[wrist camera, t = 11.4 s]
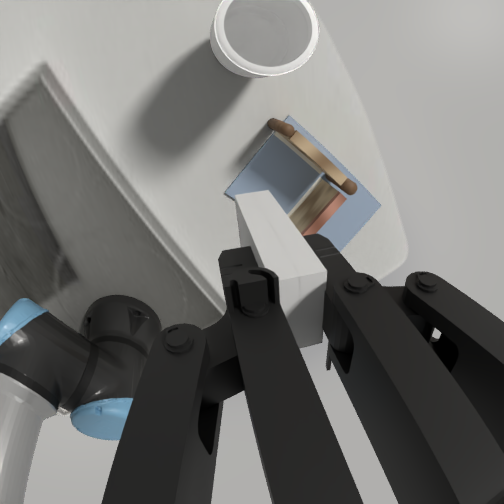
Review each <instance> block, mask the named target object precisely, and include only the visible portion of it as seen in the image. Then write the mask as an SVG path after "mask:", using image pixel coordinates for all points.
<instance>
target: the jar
mask: <svg viewBox="0 0 504 504" xmlns="http://www.w3.org/2000/svg"><path fill="white" fill-rule="evenodd" d="M318 40H319V22H318V18H317V15H316V13H315V10H314V9H313V7H312V5H311V4H310V2H309V1H308V0H223V1H222V2H221V4H220V5H219V7H218V9H217V12H216V15H215V17H214V19H213V22H212V25H211V29H210V44H211V48H212V51H213V53H214V55H215V57H216V58H217V60H218V61H219V62H220V63H221V64H222V65H223V66H224V67H225V68H226V69H228V70H229V71H231V72H233V73H235V74H237V75H240V76H244V77H250V78H263V77H268V76H275V75H282V74H286V73H289V72H291V71H294V70H296V69H297V68H299V67H300V66H302V65H303V64H304V63H305V62H307V61H308V59H309V58H310V57H311V56H312V54H313V53H314V51H315V49H316V47H317V44H318Z"/></svg>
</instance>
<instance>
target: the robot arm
mask: <svg viewBox="0 0 504 504" xmlns="http://www.w3.org/2000/svg"><path fill="white" fill-rule="evenodd" d="M235 204H236V212H237V220H238V228H239V236H240V244H241V248H235V249H230V250H224V251H222V253H221V255H220V257H219V259H218V261H219V267H220V273H221V278H222V284H223V290H224V295H225V300H226V305H227V310H226V312H225V314H224V316H223V317H222V318H221V319H220V320H219V321H218V322H217V323H215V324H213V325H212V326H210V327H208V328H205V329H203V330H201V329H200V328H198V327H197V326H195V325H191V324H185V323H184V324H176V325H173V326H170V327H168V328H165V329H164V330H163V331H162V332H161V323H160V320H159V318H158V316H157V315H156V313H155V312H154V311H153V310H152V309H151V308H150V307H149V306H148V305H146V304H145V303H143V302H142V301H140V300H137V299H135V298H132V297H128V296H123V295H111V296H106V297H103V298H100V299H98V300H97V301H95V302H94V303H93V304H92V305H91V306H90V308H89V309H88V312H87V314H86V318H85V322H84V331H85V337H84V336H82V335H81V334H79V333H78V332H76V331H75V330H73V329H72V328H70V327H69V326H67V325H66V324H65V323H63V322H62V321H60V320H59V319H57V318H56V317H55V316H53V315H52V314H51V313H49V311H48V310H47V309H43V308H42V307H40V306H39V305H37V304H36V303H34V302H33V301H32V300H30V299H27V298H22V299H19V300H18V301H17V302H16V303H15V304H14V305H13V306H12V307H11V308H10V309H9V310H8V312H7V313H6V314H5V316H4V317H3V318H2V320H1V321H0V504H23V502H24V496H25V490H26V485H27V480H28V476H29V471H30V467H31V463H32V458H33V454H34V450H35V447H36V443H37V439H38V436H39V432H40V428H41V425H42V422H43V420H44V419H46V418H49V417H51V416H54V415H56V413H57V410H58V407H59V406H60V407H62V408H64V409H66V410H68V411H69V412H71V415H70V418H71V422H72V425H73V426H74V427H76V429H77V430H78V431H80V432H81V433H83V434H85V435H87V436H90V437H94V438H97V439H103V440H120V441H119V444H118V447H117V451H116V454H115V458H114V461H113V464H112V468H111V471H110V475H109V478H108V482H107V485H106V489H105V492H104V497H103V500H102V504H211V498H212V490H213V481H214V473H215V466H216V457H217V449H218V441H219V434H220V426H221V417H222V410H223V400H226V399H227V398H230V397H232V396H234V395H236V394H238V393H240V392H242V391H245V396H246V399H247V404H248V408H249V413H250V417H251V421H252V425H253V429H254V434H255V438H256V442H257V446H258V450H259V454H260V458H261V462H262V466H263V470H264V474H265V478H266V482H267V486H268V489H269V493H270V497H271V500H272V504H363V502H362V499H361V497H360V494H359V492H358V489H357V487H356V484H355V482H354V480H353V477H352V475H351V472H350V470H349V468H348V465H347V462H346V460H345V458H344V456H343V453H342V450H341V448H340V446H339V443H338V441H337V438H336V436H335V434H334V431H333V429H332V426H331V424H330V421H329V419H328V417H327V414H326V412H325V409H324V407H323V405H322V402H321V400H320V397H319V395H318V392H317V390H316V388H315V385H314V383H313V381H312V378H311V376H310V373H309V371H308V369H307V366H306V364H305V361H304V359H303V357H302V354H301V352H300V349H299V348H303V347H307V346H311V345H315V344H319V343H322V339H323V330H324V332H325V334H326V336H327V338H328V340H329V342H328V351H327V360H326V368H327V370H330V368H331V361H332V363H333V365H334V367H335V369H336V371H337V373H338V375H339V377H340V379H341V381H342V383H343V385H344V387H345V389H346V391H347V394H348V396H349V398H350V400H351V402H352V404H353V406H354V408H355V410H356V412H357V415H358V417H359V419H360V421H361V423H362V425H363V427H364V429H365V431H366V434H367V436H368V438H369V440H370V442H371V444H372V446H373V448H374V451H375V453H376V455H377V457H378V459H379V461H380V464H381V466H382V468H383V470H384V473H385V475H386V477H387V479H388V481H389V483H390V485H391V488H392V490H393V492H394V495H395V497H396V499H397V501H398V504H504V322H503V321H501V320H500V319H499V318H498V317H496V316H495V315H493V314H492V313H491V312H489V311H488V310H486V309H485V308H484V307H482V306H481V305H480V304H478V303H477V302H475V301H474V300H473V299H471V298H470V297H468V296H467V295H466V294H464V293H463V292H461V291H460V290H458V289H457V288H455V287H454V286H452V285H451V284H449V283H448V282H447V281H445V280H443V279H442V278H440V277H439V276H437V275H435V274H433V273H429V272H415V273H411V274H410V275H409V276H408V277H407V279H406V282H405V286H396V287H386V286H381V284H380V283H379V282H378V281H377V280H376V279H375V278H373V277H372V276H370V275H367V274H365V273H358V272H356V271H355V270H354V269H353V268H352V266H351V265H350V264H349V263H348V262H347V260H346V259H345V258H344V257H343V256H342V254H340V252H339V251H338V250H337V248H335V246H334V245H333V244H332V242H331V241H330V240H329V239H328V238H326V237H324V236H322V235H320V234H318V233H317V234H311V235H305V236H302V235H301V233H300V232H299V231H298V229H297V228H296V227H295V225H294V224H293V222H292V221H291V220H290V218H289V217H288V216H287V214H286V213H285V212H284V210H283V209H282V208H281V206H280V205H279V204H278V202H277V201H276V199H275V198H274V197H273V195H272V194H271V193H270V192H269V190H265V191H258V192H251V193H245V194H238V195H235ZM434 328H436V329H438V330H439V331H440V332H441V336H440V338H439V339H436V338H434V337H432V334H433V331H434Z"/></svg>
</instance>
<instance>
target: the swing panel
mask: <svg viewBox="0 0 504 504" xmlns="http://www.w3.org/2000/svg"><path fill="white" fill-rule="evenodd" d="M346 200H347V198H345V197H344V196H343V195H342V194H341V193H340V192H339V191H338V190H336V189H335V188H334V187H332V186H331V185H330V184H328V183H327V182H326V181H324V180H322V181H321V182H320V184H319V185H318V186H317V187H316V188H315V189H314V190H313V191H312V193H311V194H310V195H309V196H308V197H307V198H306V199H305V201H304V202H303V203H302V204H301V205H300V206H299V207H298V208H297V210H296V211H295V212H294V213H293V214H292V215H291V216H290V220H291V221H292V222H293V224H294V225H295V227H296V228H297V229H298V231H299V232H300V233H301V235H302V236H305V235H311V234H316V233H317V232H318V231H319V230H320V229H321V228H322V226H323V225H324V224H325V223H326V222H327V221H328V220H329V219H330V218H331V216H332V215H333V214H334V213H335V212H336V211H337V210H338V209H339V207H340V206H341V205H342V204H343V203H344V202H345V201H346Z"/></svg>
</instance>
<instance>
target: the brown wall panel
mask: <svg viewBox="0 0 504 504" xmlns="http://www.w3.org/2000/svg"><path fill="white" fill-rule="evenodd" d="M268 127H269V128H271V129H273V130H275V131H277V132H278V133H279V134H280V135H281V136H283V137H284V138H285V139H286V140H287V141H289V142H290V143H291V144H292V145H293V146H294V147H296V148H297V149H298V150H299V151H300V152H301V153H302V154H304V155H305V156H306V157H307V158H308V159H309V160H310V161H311V162H313V163H314V164H315V165H316V166H317V167H318V168H319V169H320V170H321V171H322V172H324V173H325V177H326V179H327V180H329V181H330V182H332V183H333V184H334V185H336V186H337V187H338V188H340V189H341V190H342V191H344V192H345V193H346V194H348V195H353V194H355V193H356V191H357V184H356V183H355V182H353V181H352V180H350V179H349V178H347V177H346V176H345V175H344V174H343V173H342V172H341V171H340V170H339V169H338V168H337V167H336V166H335V165H334V164H333V163H332V162H331V161H330V160H329V159H328V158H327V157H326V156H325V155H324V154H322V153H321V152H320V151H319V150H318V149H317V148H316V147H315V146H314V145H313V144H312V143H311V142H309V141H308V140H307V139H306V138H305V137H304V136H303V135H302V134H301V133H299V132H298V131H297V130H295V131H294V127H293V126H292V125H291V124H288V123H285V122H283V121H280V120H277V119H274V118H272V119H270V120H269V121H268Z"/></svg>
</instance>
